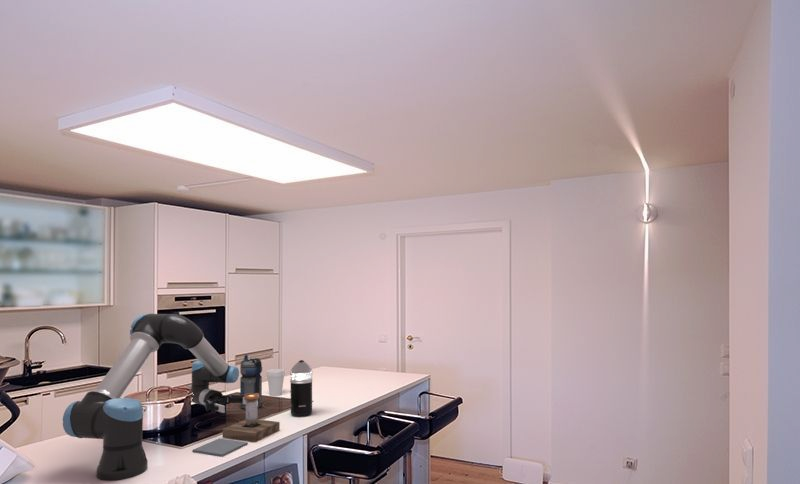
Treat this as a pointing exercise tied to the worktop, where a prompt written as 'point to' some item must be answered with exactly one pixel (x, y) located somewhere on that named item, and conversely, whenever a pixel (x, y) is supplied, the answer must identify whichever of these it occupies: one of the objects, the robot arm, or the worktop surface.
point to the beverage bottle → (251, 378)
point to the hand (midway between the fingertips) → (238, 405)
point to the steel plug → (251, 409)
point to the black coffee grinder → (301, 389)
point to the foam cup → (275, 381)
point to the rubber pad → (220, 447)
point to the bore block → (251, 430)
